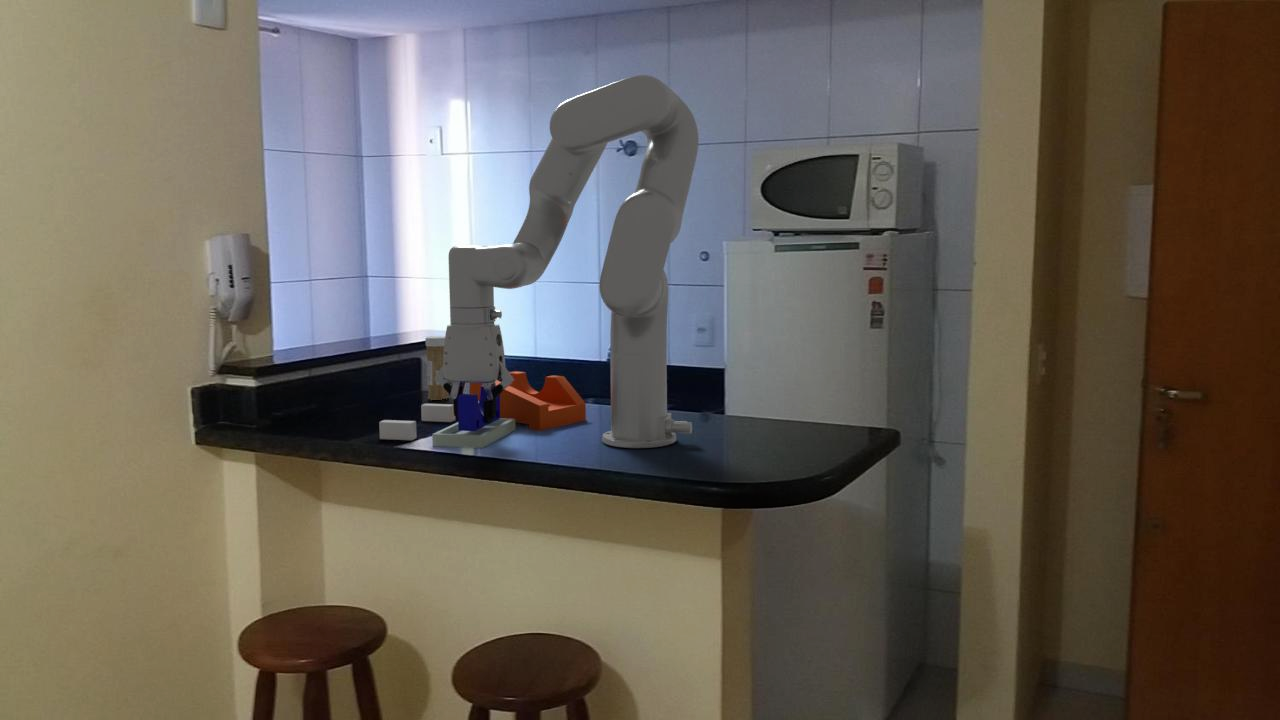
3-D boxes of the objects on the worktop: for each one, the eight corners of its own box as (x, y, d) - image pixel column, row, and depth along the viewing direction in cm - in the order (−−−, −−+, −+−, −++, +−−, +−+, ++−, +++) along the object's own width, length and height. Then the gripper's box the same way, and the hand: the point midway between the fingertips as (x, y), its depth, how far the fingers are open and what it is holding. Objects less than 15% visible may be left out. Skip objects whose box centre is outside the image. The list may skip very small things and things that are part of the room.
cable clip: (476, 417, 193) (476, 384, 192) (500, 418, 192) (499, 385, 191) (450, 430, 181) (449, 395, 180) (475, 431, 180) (474, 396, 179)
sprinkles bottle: (447, 400, 224) (445, 337, 222) (425, 401, 224) (423, 337, 222) (450, 397, 229) (448, 335, 227) (429, 397, 228) (427, 335, 227)
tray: (515, 429, 193) (515, 418, 193) (482, 447, 178) (482, 436, 177) (469, 427, 195) (468, 416, 195) (432, 445, 180) (432, 434, 179)
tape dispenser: (470, 422, 203) (469, 379, 201) (517, 412, 212) (516, 371, 211) (540, 433, 192) (539, 387, 191) (585, 422, 202) (585, 378, 200)
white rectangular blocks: (455, 420, 203) (454, 404, 202) (411, 440, 184) (410, 423, 184) (426, 418, 204) (425, 403, 204) (379, 438, 186) (379, 422, 185)
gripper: (526, 315, 185) (528, 418, 188) (435, 314, 189) (439, 415, 191) (511, 319, 178) (513, 427, 180) (417, 318, 182) (421, 423, 184)
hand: (475, 419), depth 186 cm, fingers closed on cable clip, 4 cm apart
